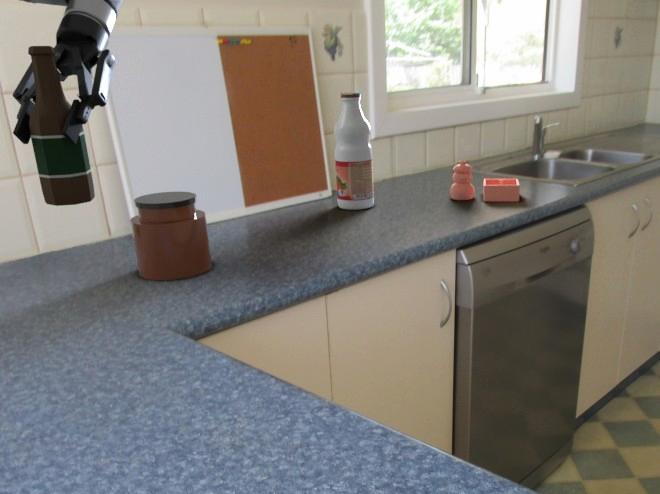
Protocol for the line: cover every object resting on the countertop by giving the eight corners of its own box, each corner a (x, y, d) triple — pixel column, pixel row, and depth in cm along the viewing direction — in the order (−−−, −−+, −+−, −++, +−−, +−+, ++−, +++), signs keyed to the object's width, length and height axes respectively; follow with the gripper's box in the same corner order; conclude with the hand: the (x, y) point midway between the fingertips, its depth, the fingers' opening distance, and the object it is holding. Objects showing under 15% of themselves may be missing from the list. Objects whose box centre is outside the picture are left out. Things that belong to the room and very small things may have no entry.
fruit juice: (369, 210, 166) (364, 93, 156) (333, 209, 167) (326, 94, 158) (378, 202, 174) (373, 91, 164) (343, 202, 176) (337, 91, 166)
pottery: (517, 194, 181) (518, 157, 177) (518, 201, 172) (520, 163, 168) (450, 194, 183) (450, 158, 179) (449, 201, 174) (449, 163, 170)
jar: (138, 264, 127) (126, 194, 122) (207, 255, 131) (199, 187, 127) (139, 284, 116) (126, 208, 111) (216, 274, 120) (206, 200, 115)
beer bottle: (100, 201, 109) (72, 45, 100) (48, 208, 105) (14, 45, 96) (91, 194, 115) (64, 46, 106) (41, 200, 111) (9, 46, 102)
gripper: (152, 44, 114) (117, 153, 105) (44, 47, 117) (1, 153, 108) (131, 9, 107) (91, 122, 98) (17, 13, 110) (-32, 123, 101)
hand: (44, 138), depth 103 cm, fingers closed on beer bottle, 7 cm apart
